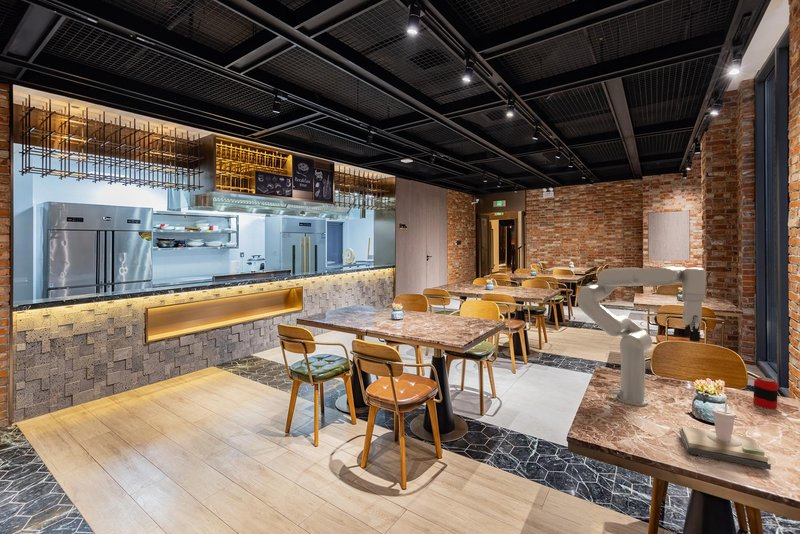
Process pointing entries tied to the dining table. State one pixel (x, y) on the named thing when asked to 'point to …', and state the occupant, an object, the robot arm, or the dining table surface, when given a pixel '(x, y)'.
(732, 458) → the stand base
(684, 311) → the robot arm
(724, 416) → the smoothie
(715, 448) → the stand top
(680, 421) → the dining table surface
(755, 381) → the soda can
